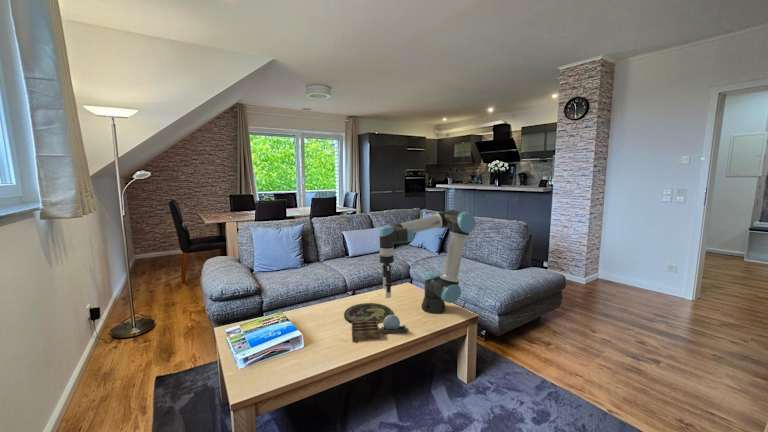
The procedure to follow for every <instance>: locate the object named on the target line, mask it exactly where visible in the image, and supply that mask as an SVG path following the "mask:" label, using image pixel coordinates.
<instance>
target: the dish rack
mask: <svg viewBox="0 0 768 432" xmlns="http://www.w3.org/2000/svg"><path fill="white" fill-rule="evenodd" d="M351 339H352V343H353V342H354V343H356V342H357V343H358V342H359V341H362V340H363V341H364V340H365V341H366V340H376V339H377V340H379V339H380V328H379V325H378V323H377V321H366V322H352V323H351Z"/></svg>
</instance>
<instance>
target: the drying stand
mask: <svg viewBox="0 0 768 432" xmlns="http://www.w3.org/2000/svg"><path fill="white" fill-rule="evenodd" d="M381 331H382V335H393V334H407V333H408V329H407V327H406V325H405V324H403V325H400V326H399V328H398V329H397V330H386V329H385V328H384V326H381Z"/></svg>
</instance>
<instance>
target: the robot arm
mask: <svg viewBox="0 0 768 432" xmlns="http://www.w3.org/2000/svg"><path fill="white" fill-rule="evenodd" d="M436 228H437V229H445V228H446V229H448V232H449V234H450V239H449V242H448V247H447V248H448V249H447V253H446V258H445V263H444V267H443V271H442V273H441V272H429V273H426V274H425V276H424V297H423V300H422V302H421V309H422V310H423V311H424V313H425V312H426V313H429V314H442V313H444V312H445V311H446V308H447V307H446V303H449V304H452V303H453V304H454V303H455V302H456V301H458V300H459V299H460V297H461V294H462V290H461V287H460V285H459V283H460V280H459V278H458V276H459V275H458V274H459V273H460V272H459V271H460V266H461V262H462V257H463V251H464V247H465V243H466V239H467V238H468V237H469V236H470V233H471V232H473V231H474V229H475V228H476V219H475V217H474V215H473V214H472V213H470V212H467V211H463V210H457V209H449V210H444V211H440V212H436V213H434V214H433V215H431V216H427V217H422V218H421V217H420V218H417V219H414V220H413V219H412V220H409V221H405V222H401V223H395V224H392V223H390V224H386V225H382V226H381V227H379V234H378V237H379V248H378V251H379V263H381V264H383V265H382V276H383V277H382V288H383V289H384V290H385V299H392V286H393V285H392V272H391V271H392V267H391V264H392V263H394V261H395V258H394V257H395V255H394V254H395V247H394V245H395V244H401V243H409V242H413V241H414V239H415V234H416V233H420V232H423V231H428V230H431V229H436Z"/></svg>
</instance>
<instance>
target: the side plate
mask: <svg viewBox="0 0 768 432" xmlns="http://www.w3.org/2000/svg"><path fill="white" fill-rule="evenodd" d="M382 324H383V327H384V328H385V329H386V330H397V329H398V328H399V326H401V322H400V318H399V317H398V316H396V315H395V314H393V315H388V316H387V317H385V319H384V321H383V323H382Z"/></svg>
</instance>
